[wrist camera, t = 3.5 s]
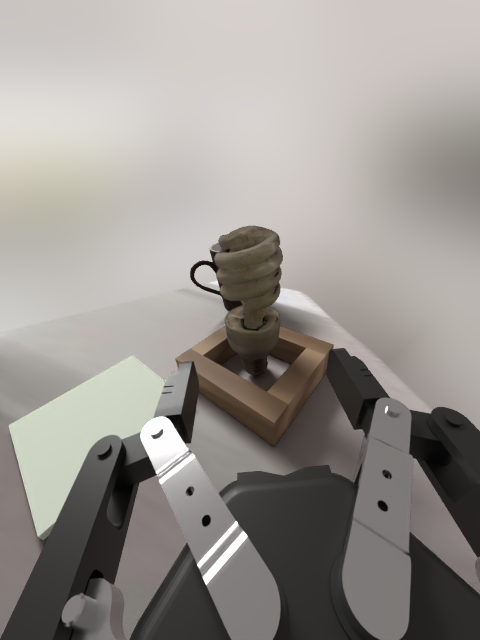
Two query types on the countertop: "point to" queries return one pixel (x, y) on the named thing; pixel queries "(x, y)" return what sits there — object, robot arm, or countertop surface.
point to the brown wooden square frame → (251, 401)
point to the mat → (79, 432)
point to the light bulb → (251, 292)
